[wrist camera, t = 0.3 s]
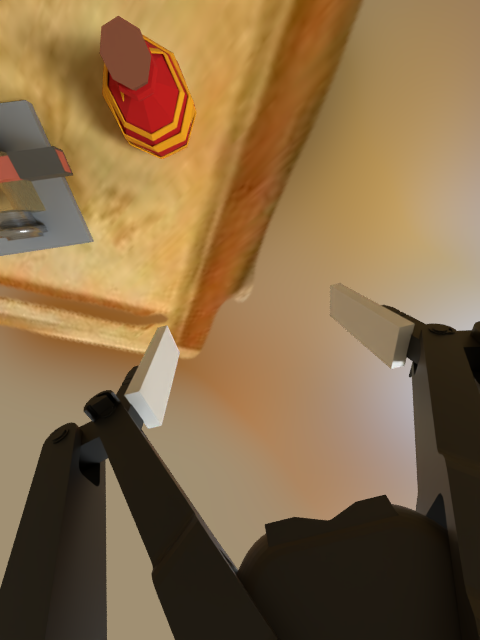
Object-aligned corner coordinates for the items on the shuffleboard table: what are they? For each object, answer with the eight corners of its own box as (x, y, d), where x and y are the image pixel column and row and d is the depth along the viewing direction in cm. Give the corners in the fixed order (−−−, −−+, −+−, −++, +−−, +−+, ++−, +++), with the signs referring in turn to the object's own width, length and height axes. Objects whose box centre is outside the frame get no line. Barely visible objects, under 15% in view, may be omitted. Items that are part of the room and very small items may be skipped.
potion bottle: (153, 52, 27) (94, -107, 14) (212, 126, 31) (211, 59, 18) (112, 125, 30) (30, 52, 16) (171, 184, 34) (144, 164, 20)
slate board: (-90, 119, 27) (-101, 115, 26) (31, 103, 28) (25, 100, 27) (2, 255, 36) (-3, 256, 35) (93, 241, 36) (90, 242, 35)
